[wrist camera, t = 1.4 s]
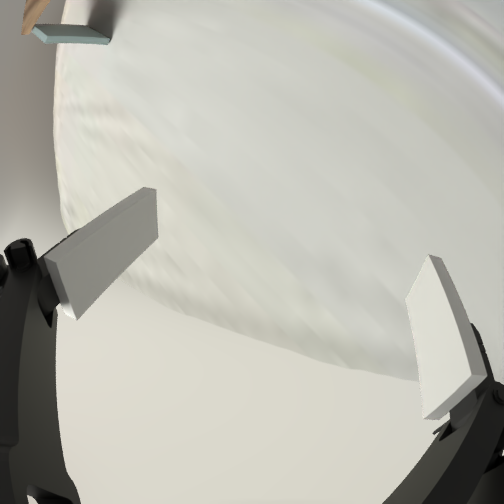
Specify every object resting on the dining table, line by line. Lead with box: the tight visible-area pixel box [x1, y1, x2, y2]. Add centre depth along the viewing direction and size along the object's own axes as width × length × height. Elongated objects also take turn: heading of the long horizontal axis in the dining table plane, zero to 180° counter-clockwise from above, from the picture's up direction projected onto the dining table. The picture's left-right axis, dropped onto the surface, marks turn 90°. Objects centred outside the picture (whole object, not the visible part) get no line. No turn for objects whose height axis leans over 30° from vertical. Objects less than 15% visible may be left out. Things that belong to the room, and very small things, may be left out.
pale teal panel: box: [31, 24, 110, 45], centre depth 35 cm, size 2×15×15 cm, turn 54°
